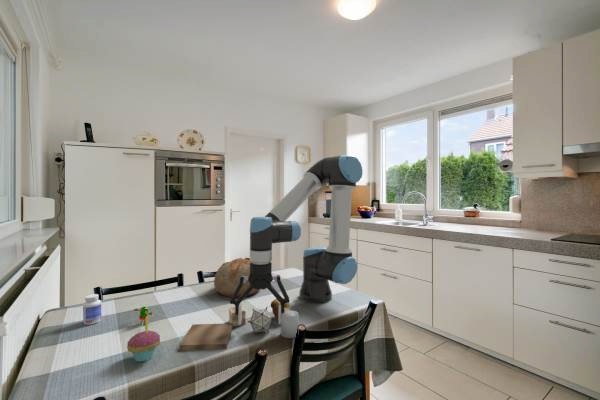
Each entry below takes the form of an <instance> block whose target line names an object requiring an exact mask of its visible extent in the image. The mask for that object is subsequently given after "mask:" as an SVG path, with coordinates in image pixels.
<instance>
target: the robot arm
mask: <svg viewBox="0 0 600 400" xmlns="http://www.w3.org/2000/svg"><path fill="white" fill-rule="evenodd" d="M362 177H363V167H362V163H361V162H360V160H359V159H358V157H357V156H355V155H352V154H342V155H336V156H328V157H324V158H322V159H320V160H318V161H317V162H315V163H314V164H313V165H312V166H311V167H309V168H308V170H306V172H304V174H303V178H302V179H301V180H300V181H299V182H297V184H296V185H295V186H294V187H293V188H292V189H291V190H290V191H289V192H287V194H285V196H284V197H282V199H280V201H279V202H277V204H276V205H275V206H274V207H273V208H272V209H271V210H269V212H268V213H267V214H266V215H264V216H253V217H252V218H251V219H250V224H249V225H250V226H249V258H250V261H251V263H250V275H249V277H248V276H244V275H241V277H240V283H239V285H238V287H237V288H236V290H235V292H234V294H233V296H232V297H230V301H229V304H230V305H234V307H235V314H236V315H238V325H237V326H242V325H241V319H242V302H243V300H245V298H246V297H247V296H249V295H248V293H249V292H250V291H251V290H252V289H253V288H254V289H256V290H258V289H259V290H266V289H267V290H268V291H269V292H270V293H271V294H272V295H273V297H275V299H277V300H278V301H279V314H278V320H277V321H278V325H281V313H284V305H285V303H289V304H290V302H291V301H290V297H289V295H288V293H287V291H286V288H285V287H284V285H283V282H282V280H281V275H280V274H276V275H272V270H273V269H272V268H273V267H272V265H273V262H272V261H273V260H272V259H273V257H272V256H273V244H279V243H280V244H281V243H291V242H296V241H298V240H299V239H300V237H301V235H302V228H301V226H300V224H299V222H297V221H296V220H295V221H294V220H293V221H292V220H288V219H289V218H290V217H291V216H292V215H293V214H294V213H295V212H296V211H297V210H298V209H299V208H300V206H301V205H302V204H303V203H305V202H306V200H307V199H308V198H309V197H310V196H311V195H312V194H313V193H314V192H315V191H316V190H319V189H321V187H323V186H324V185H327V184H328V188H329V189H330V190H331V200H330V215H329V216H330V218H329V219H330V220H329V232H328V233H329V234H328V235H329V236H328V246H317V247H316V246H315V247H307V248H305V249H304V251H303V256H302V258H303V259H302V260H303V261H302V263H303V264H302V266H303V267H302V269H303V270H302V274H303V276H302V277H303V279H302V283H301V286H300V288H299V292H298V293H299V296H298V297H299V299H300V300H302V301H304V302H306V303H315V304H319V303H327V302H329V301H331V300H332V298H333V293H332V289H331V286H330V283H329V281H330V282H334V283H335V284H340V285H347V284H349V283H351V281H353V279H354V278H355V276H356V274H357V272H358V262H357V260H356V258H354V257H353V250H352V249H351V248H350V235H351V233H350V232H351V217H352V216H351V215H352V196H353V195H352V194H353V191H354V190H355V189H356V188H357V183H358V182H359V181H361V179H362ZM247 280H248V281H249V282H250V285H249V286H248V288H247V289H246V290H245V291H244V292H243V293H242V295H241V296H240V297H237V295H238V293H239V291H240V289H241V287H242V285H243V283H245V282H246V281H247ZM273 281H274V283H277V285H278V288H279V290H280V292H281V294H282V296H283V297H282V296H281V294H280V293H279V292H278V291H277V290H276V288H275V287H274V286H273V284H271V283H272V282H273ZM259 290H258V291H259ZM236 298H237V299H236ZM283 298H285V299H283Z"/></svg>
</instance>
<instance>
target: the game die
mask: <svg viewBox="0 0 600 400" xmlns="http://www.w3.org/2000/svg"><path fill="white" fill-rule="evenodd" d="M267 309H268V306H266V307H265V308H263V309H262V308H261V309H256V310H255V308H252V311H253V312H252V315H251V316H250V320H247V323H249V324H250V325H251V327H252V329H253V336H254V335H256V333H262V332H267V333H270V331H269V329H270V326H271V323H272V321H275V319H274V318H272V316H271V315H270V313H269V311H268V310H267Z"/></svg>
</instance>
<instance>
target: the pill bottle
mask: <svg viewBox="0 0 600 400" xmlns="http://www.w3.org/2000/svg"><path fill="white" fill-rule="evenodd" d="M84 301H85V302H84V303H83V305H82V312H83V313H82V314H83V315H82V317H83V320H82V321H83V325H85V326H88V325H89V326H90V325H95V324H98V323H100V322H101V321H102V301H101V299H99V294H98V293H93V294H88V295H86V296H85V297H84Z"/></svg>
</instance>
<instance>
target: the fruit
mask: <svg viewBox="0 0 600 400" xmlns="http://www.w3.org/2000/svg"><path fill="white" fill-rule="evenodd" d="M282 298H283V299H285V298H284V297H282ZM270 307H271V309H272V314H273V316H274V318H275V319H276V320H277V321H278V314H279V301H278V300H277V299H276V298H275V299H273V300H272V301H271V302H270ZM284 311H291V305H290V302H289V303H285V305H284Z"/></svg>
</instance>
